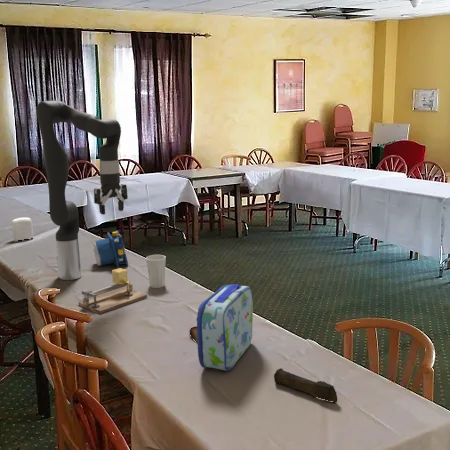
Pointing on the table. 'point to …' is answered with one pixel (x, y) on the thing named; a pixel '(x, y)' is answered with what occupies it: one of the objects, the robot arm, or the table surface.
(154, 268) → the cup
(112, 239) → the blue piece
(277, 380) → the hand tool
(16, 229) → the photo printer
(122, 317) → the table surface
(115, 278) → the sliding block
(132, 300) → the board
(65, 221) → the robot arm
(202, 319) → the lunch box
